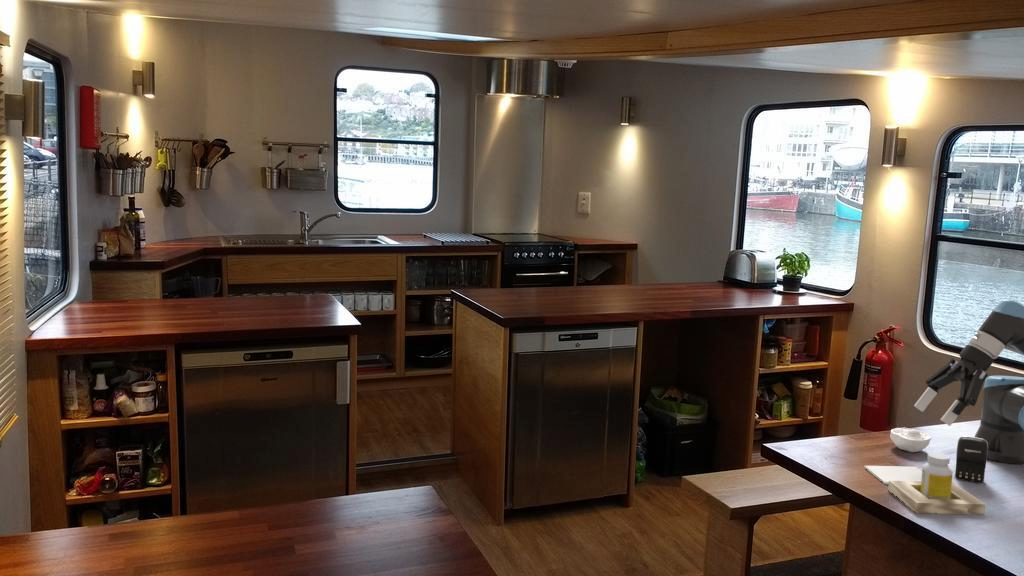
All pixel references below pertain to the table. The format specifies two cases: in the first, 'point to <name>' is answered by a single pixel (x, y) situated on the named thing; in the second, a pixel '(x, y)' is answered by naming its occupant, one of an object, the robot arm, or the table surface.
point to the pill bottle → (936, 477)
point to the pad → (895, 473)
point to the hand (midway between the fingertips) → (931, 415)
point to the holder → (920, 504)
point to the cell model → (910, 439)
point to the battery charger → (971, 459)
